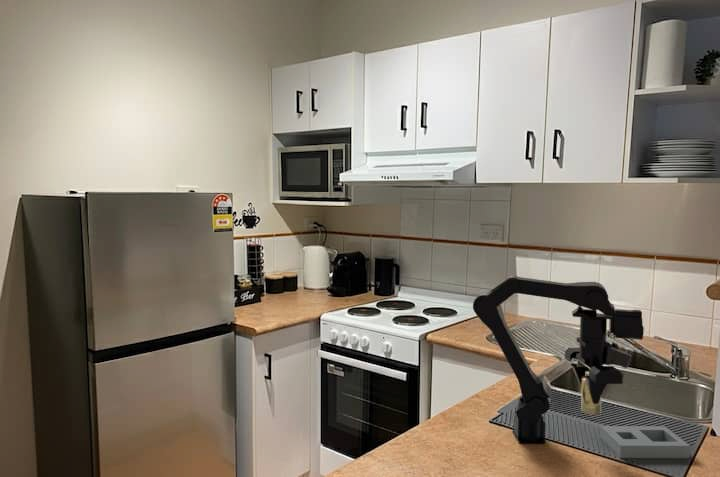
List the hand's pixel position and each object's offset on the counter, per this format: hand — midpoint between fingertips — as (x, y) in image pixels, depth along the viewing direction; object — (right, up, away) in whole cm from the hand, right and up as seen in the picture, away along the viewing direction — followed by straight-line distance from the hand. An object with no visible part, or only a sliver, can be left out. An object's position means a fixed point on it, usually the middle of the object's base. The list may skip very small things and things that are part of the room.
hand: (591, 399), depth 122 cm
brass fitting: (0, -3, 0) cm, 3 cm away
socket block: (+13, -12, +1) cm, 18 cm away
